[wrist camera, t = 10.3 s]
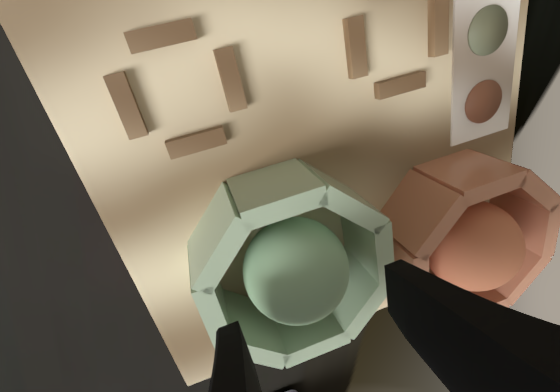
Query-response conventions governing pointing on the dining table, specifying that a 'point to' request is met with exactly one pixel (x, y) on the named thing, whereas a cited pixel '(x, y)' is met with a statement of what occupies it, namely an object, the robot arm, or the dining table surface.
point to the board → (257, 110)
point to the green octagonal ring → (269, 209)
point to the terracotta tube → (465, 192)
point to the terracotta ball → (480, 249)
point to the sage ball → (296, 271)
